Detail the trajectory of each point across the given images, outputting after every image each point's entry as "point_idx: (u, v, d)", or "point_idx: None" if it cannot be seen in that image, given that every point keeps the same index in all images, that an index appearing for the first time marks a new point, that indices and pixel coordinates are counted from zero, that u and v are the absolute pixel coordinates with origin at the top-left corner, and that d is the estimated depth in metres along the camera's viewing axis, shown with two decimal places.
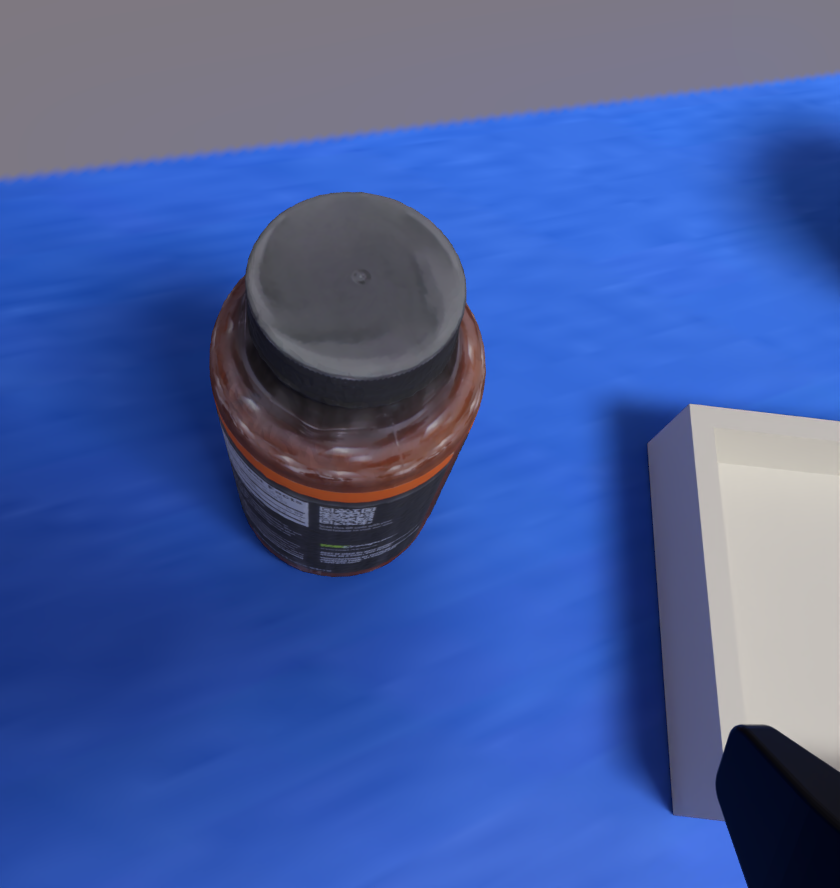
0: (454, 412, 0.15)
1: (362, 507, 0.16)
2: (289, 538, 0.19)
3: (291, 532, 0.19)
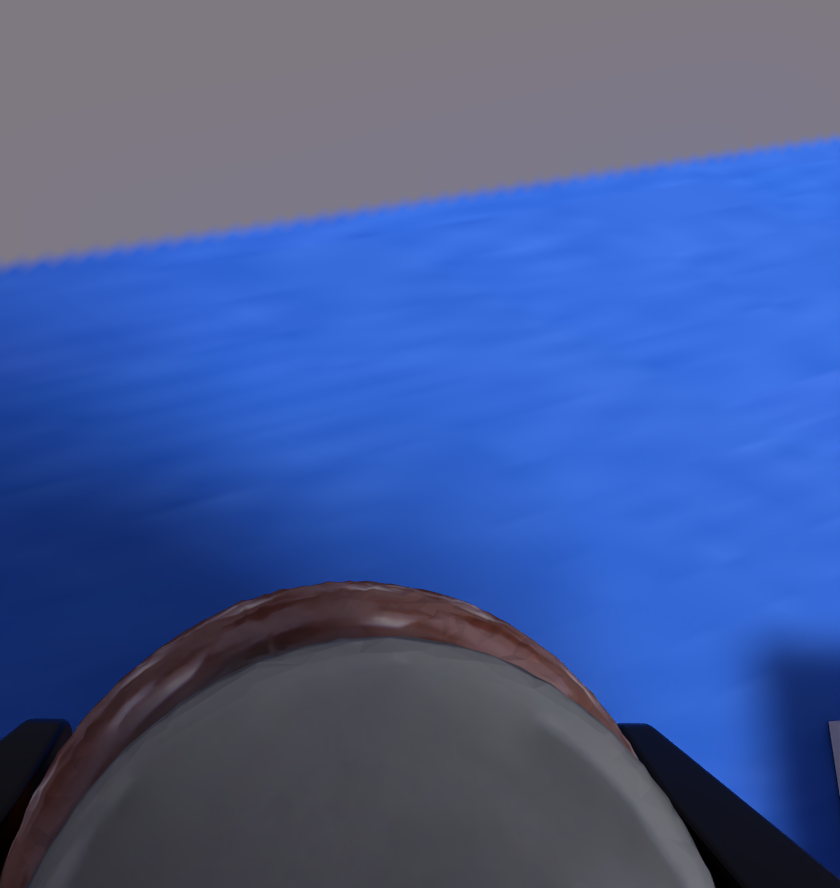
0: None
1: None
2: None
3: None
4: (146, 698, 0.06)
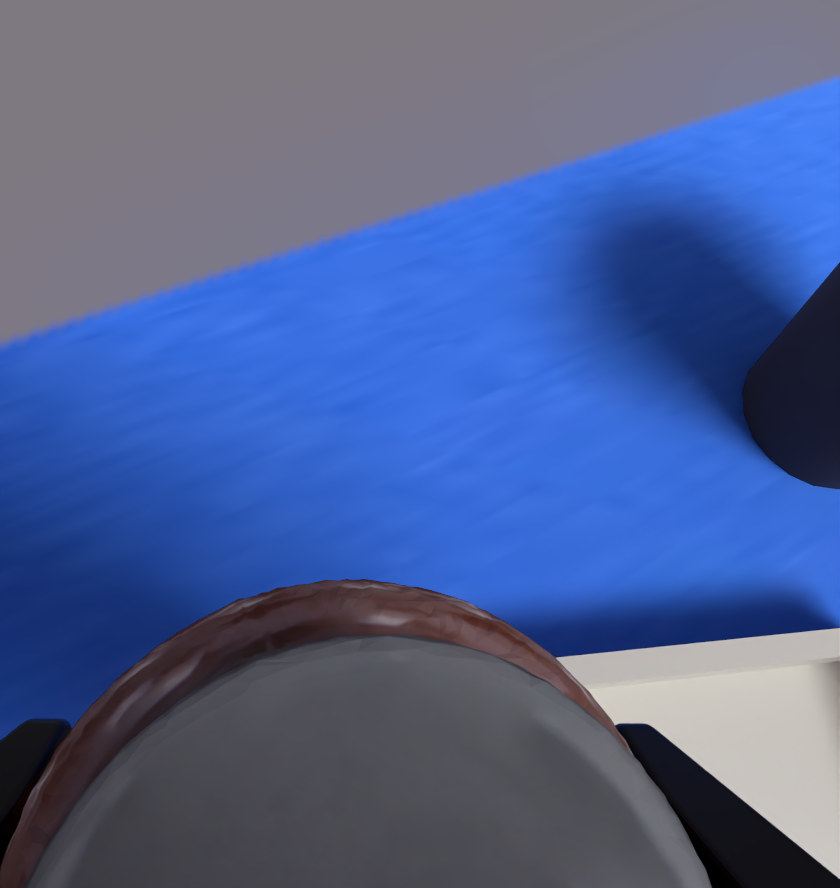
0: None
1: None
2: None
3: None
4: (144, 696, 0.06)
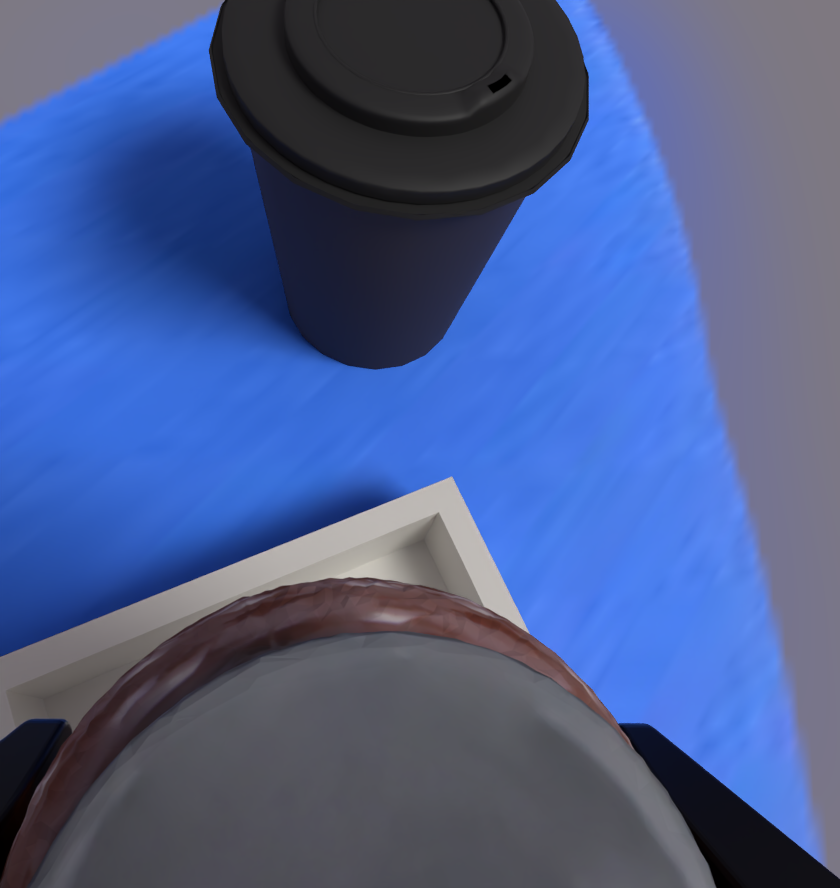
0: None
1: None
2: None
3: None
4: (148, 693, 0.06)
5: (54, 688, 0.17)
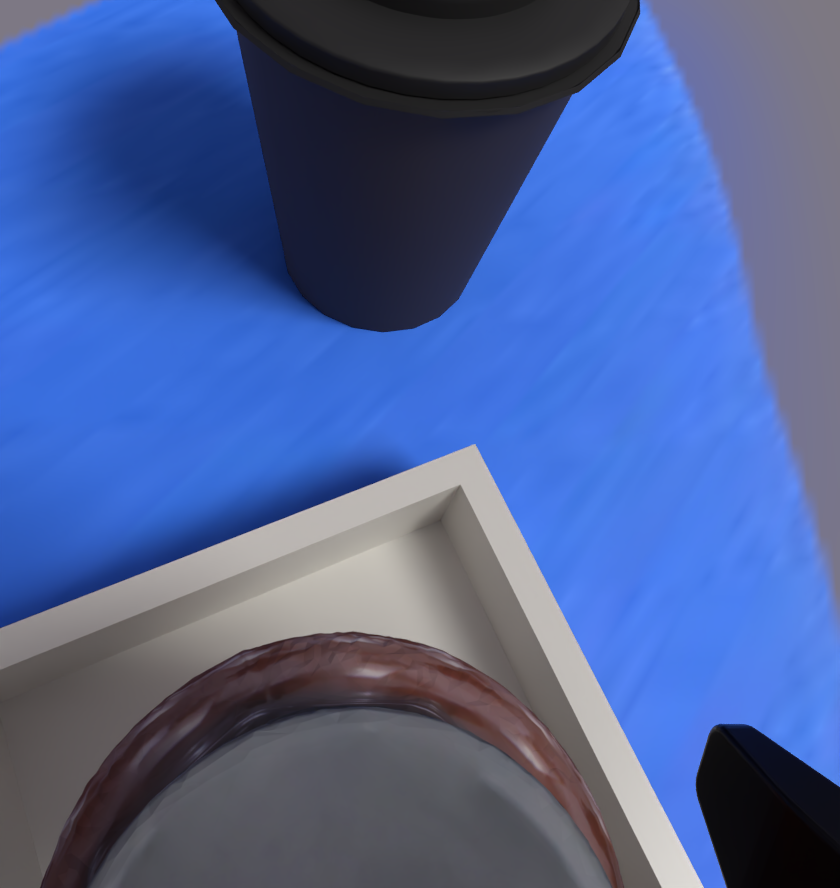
0: None
1: None
2: None
3: None
4: (161, 741, 0.07)
5: (8, 690, 0.15)
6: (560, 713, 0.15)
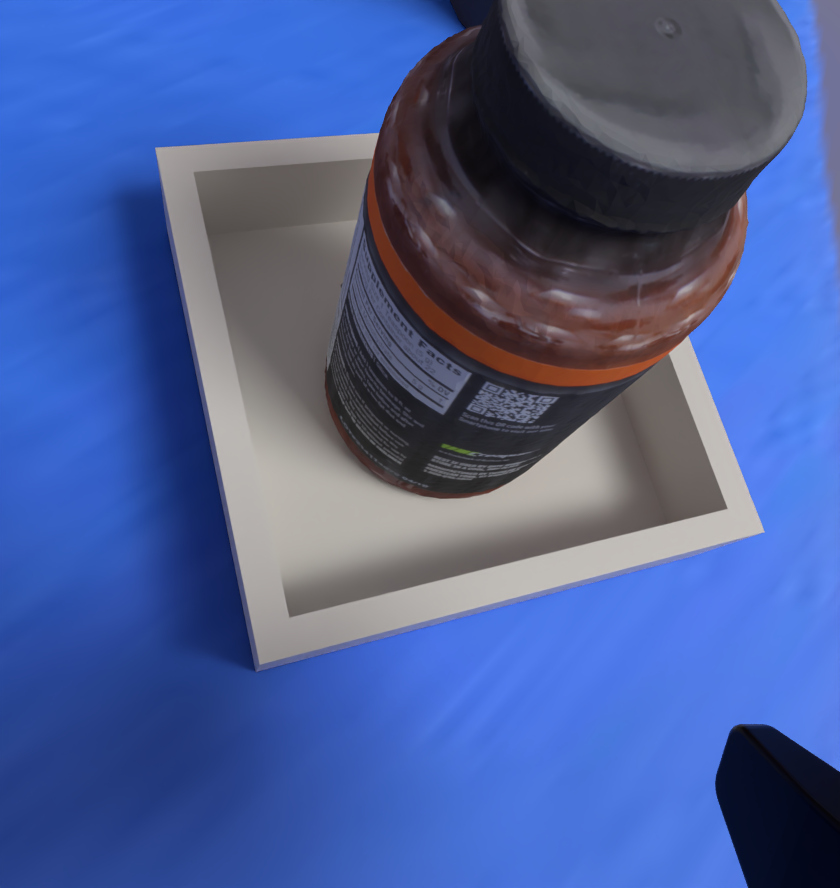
0: (713, 279, 0.11)
1: (544, 393, 0.12)
2: (400, 430, 0.15)
3: (410, 421, 0.14)
4: None
5: (216, 217, 0.19)
6: None
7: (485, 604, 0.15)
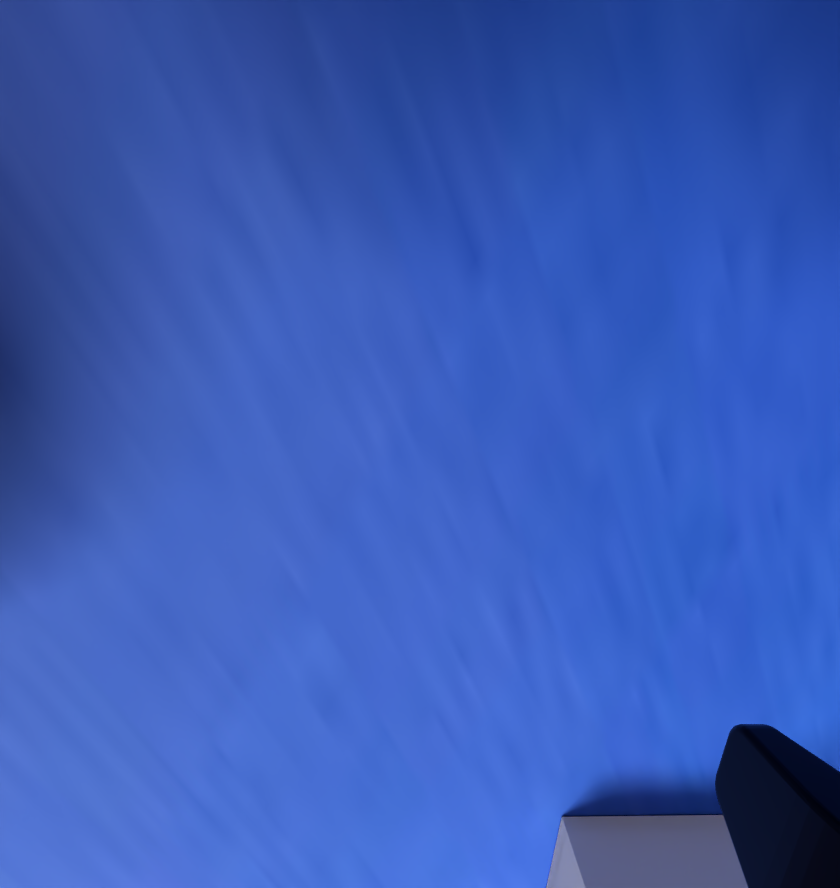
0: None
1: None
2: None
3: None
4: None
5: None
6: None
7: None
